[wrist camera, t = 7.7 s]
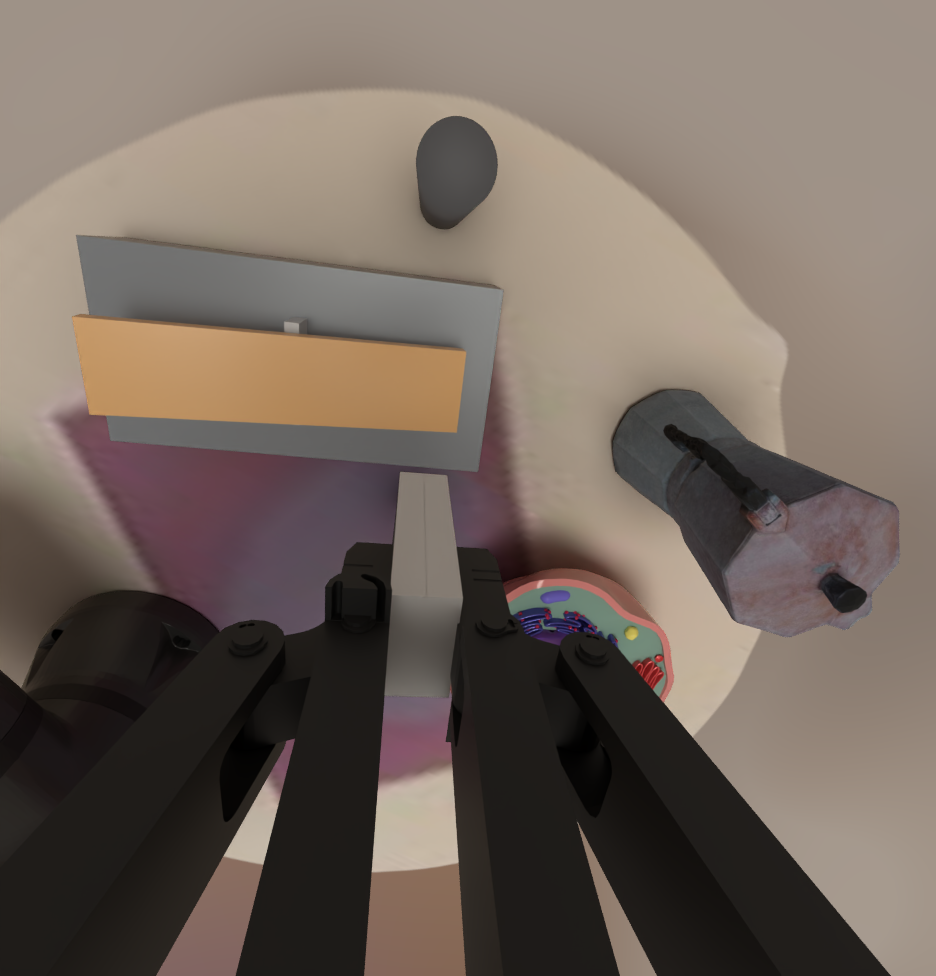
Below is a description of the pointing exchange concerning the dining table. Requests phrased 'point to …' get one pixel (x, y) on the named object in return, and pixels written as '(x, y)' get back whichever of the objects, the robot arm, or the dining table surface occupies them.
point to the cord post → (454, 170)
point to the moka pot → (758, 517)
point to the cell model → (592, 618)
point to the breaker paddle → (265, 376)
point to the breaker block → (302, 310)
